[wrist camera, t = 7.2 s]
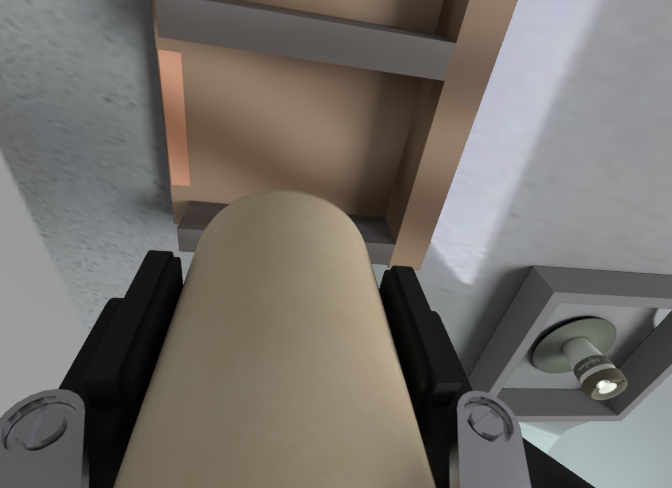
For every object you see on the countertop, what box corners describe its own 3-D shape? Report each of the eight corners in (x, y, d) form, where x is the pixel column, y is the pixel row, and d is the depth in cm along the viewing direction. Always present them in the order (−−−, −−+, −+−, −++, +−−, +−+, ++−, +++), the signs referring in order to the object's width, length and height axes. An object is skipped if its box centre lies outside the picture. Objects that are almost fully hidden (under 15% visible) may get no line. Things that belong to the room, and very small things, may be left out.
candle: (193, 311, 13) (44, 823, 5) (203, 169, 11) (-97, 831, 2) (342, 327, 15) (408, 762, 7) (388, 204, 12) (614, 717, 4)
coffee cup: (558, 394, 41) (587, 440, 37) (484, 360, 36) (509, 409, 32) (665, 326, 35) (712, 372, 31) (596, 276, 31) (642, 322, 27)
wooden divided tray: (114, -462, 11) (40, -641, 8) (570, -301, 13) (657, -387, 10) (178, 215, 24) (160, 253, 21) (404, 233, 26) (419, 270, 23)
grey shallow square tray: (532, 265, 29) (554, 292, 27) (712, 278, 32) (746, 303, 30) (458, 393, 39) (469, 422, 37) (601, 394, 42) (620, 420, 39)
